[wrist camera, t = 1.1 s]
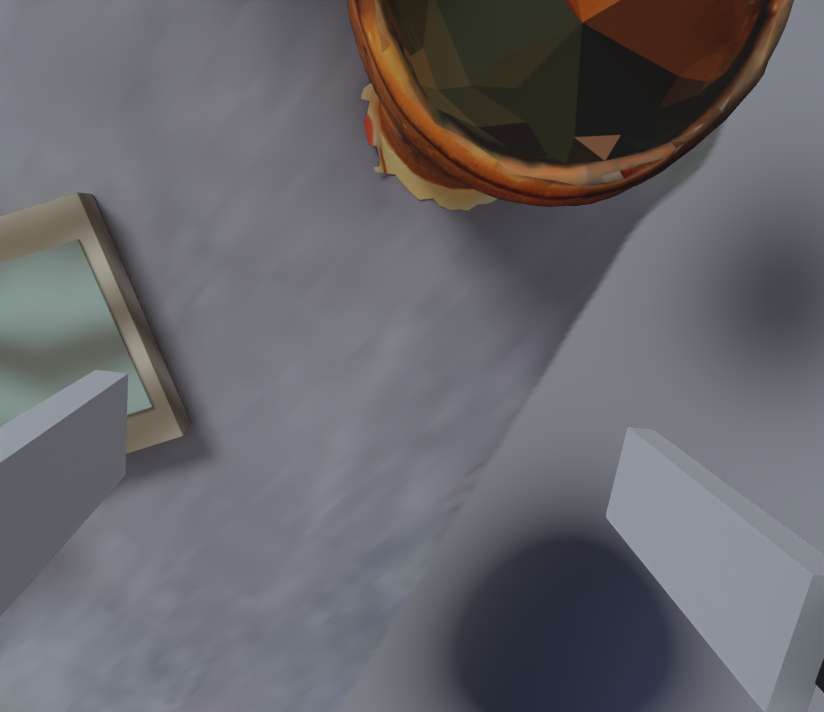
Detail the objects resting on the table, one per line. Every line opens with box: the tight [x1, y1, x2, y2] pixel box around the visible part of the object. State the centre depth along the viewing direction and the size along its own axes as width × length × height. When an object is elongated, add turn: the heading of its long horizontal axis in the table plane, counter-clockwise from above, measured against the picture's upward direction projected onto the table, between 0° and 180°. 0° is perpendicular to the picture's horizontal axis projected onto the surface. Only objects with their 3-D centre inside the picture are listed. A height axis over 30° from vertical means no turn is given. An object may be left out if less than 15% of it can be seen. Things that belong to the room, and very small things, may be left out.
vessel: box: [347, 0, 794, 211], centre depth 26 cm, size 14×14×20 cm
